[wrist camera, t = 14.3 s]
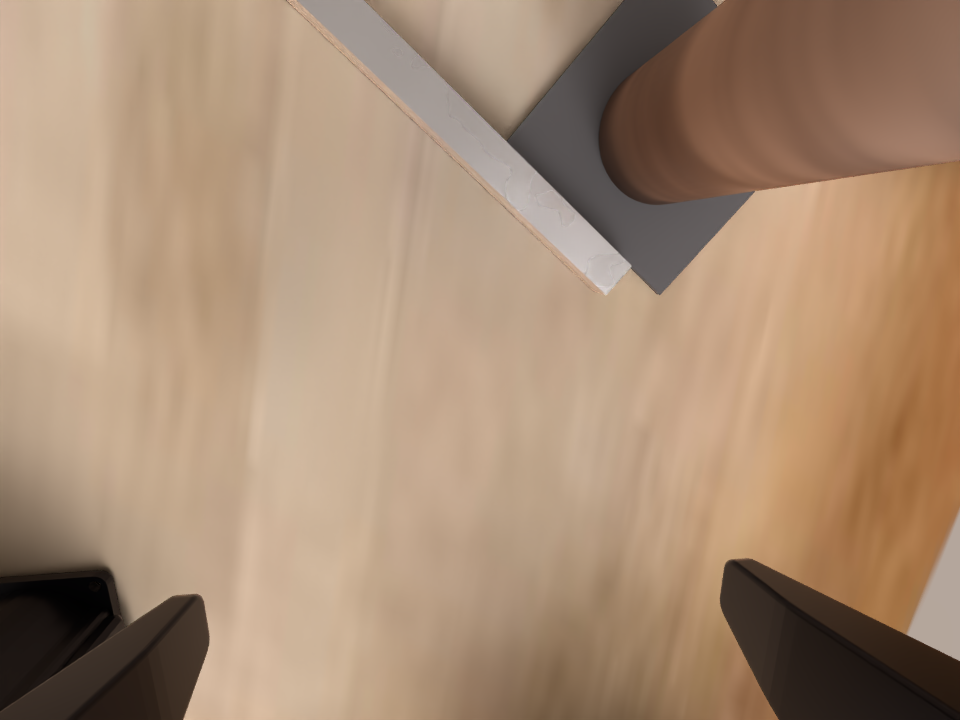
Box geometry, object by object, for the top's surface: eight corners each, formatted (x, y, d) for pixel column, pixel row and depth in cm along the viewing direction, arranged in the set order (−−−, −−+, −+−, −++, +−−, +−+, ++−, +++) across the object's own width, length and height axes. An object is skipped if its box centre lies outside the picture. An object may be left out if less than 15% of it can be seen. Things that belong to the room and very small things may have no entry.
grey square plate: (504, 143, 19) (506, 142, 19) (665, -49, 18) (669, -54, 18) (656, 293, 21) (660, 294, 21) (808, 128, 20) (813, 127, 20)
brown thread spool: (596, 206, 20) (914, 144, 7) (601, 62, 18) (998, -327, 6) (717, 203, 20) (1211, 142, 8) (729, 63, 19) (1345, -287, 6)
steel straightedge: (228, -55, 17) (209, -83, 15) (255, -92, 16) (238, -124, 15) (593, 291, 21) (606, 295, 19) (617, 264, 21) (632, 266, 19)
